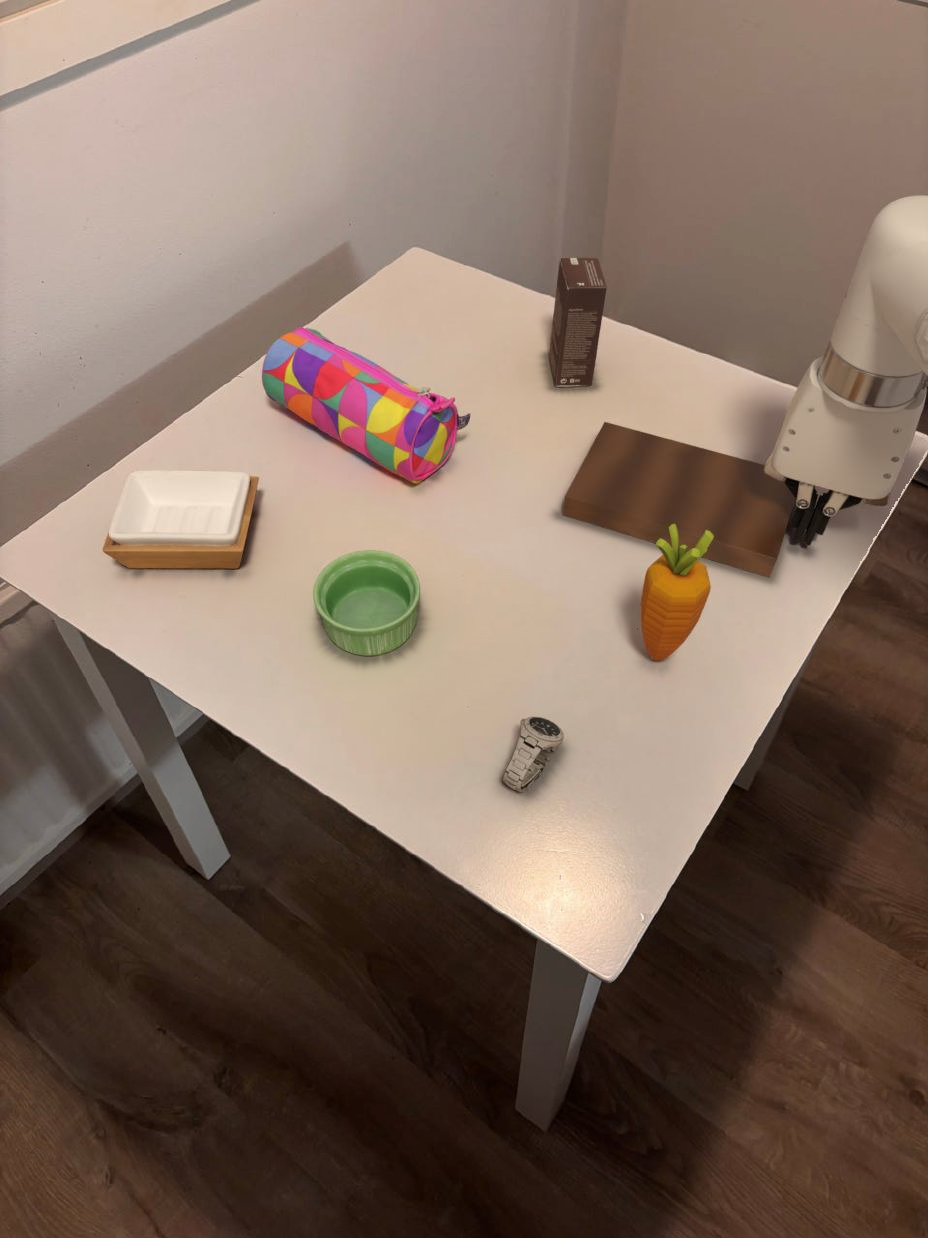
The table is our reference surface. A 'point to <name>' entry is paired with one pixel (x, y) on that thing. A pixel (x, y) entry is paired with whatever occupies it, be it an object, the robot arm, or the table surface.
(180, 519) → the soap dish
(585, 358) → the box
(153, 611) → the table surface
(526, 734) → the wristwatch
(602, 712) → the table surface
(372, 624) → the ramekin
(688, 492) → the cutting board
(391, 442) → the pencil case
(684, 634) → the carrot
